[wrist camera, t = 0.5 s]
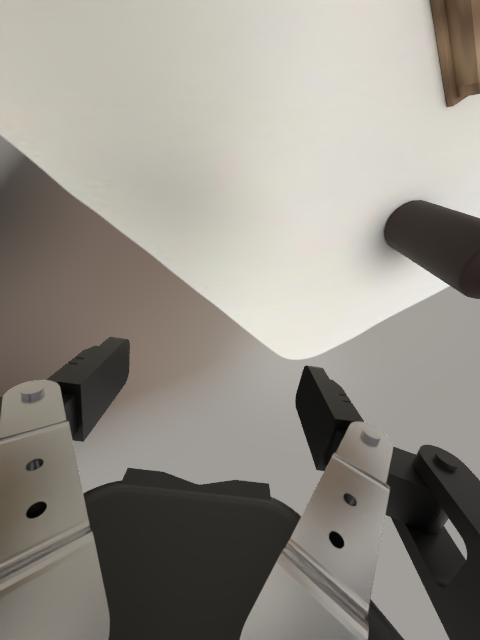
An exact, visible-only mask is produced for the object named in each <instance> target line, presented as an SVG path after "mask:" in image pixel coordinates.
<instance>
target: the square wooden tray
mask: <svg viewBox="0 0 480 640" xmlns="http://www.w3.org/2000/svg"><path fill="white" fill-rule="evenodd" d="M430 2H431V9H432V15H433V21H434V28H435V34H436V40H437V46H438V53H439V59H440V65H441V72H442V78H443V84H444V91H445V97H446V103H447V107H450V106H454V105H456V104H457V103H459V102H460V101H461V100H463V99H464V98H466V97H467V96H469V95H475V94H480V0H430Z"/></svg>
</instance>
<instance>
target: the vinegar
mask: <svg viewBox="0 0 480 640" xmlns="http://www.w3.org/2000/svg"><path fill="white" fill-rule="evenodd" d="M385 239H386V241H387V243H388V245H390V246H391V247H392V248H394V249H395V250H397V251H398V252H400V253H401V254H403V255H404V256H406V257H407V258H409V259H410V260H412V261H413V262H415V263H416V264H418V265H420V266H421V267H423V268H424V269H426V270H427V271H429V272H430V273H432V274H433V275H435V276H436V277H438V278H439V279H441V280H442V281H444V282H445V283H447V284H448V285H450V286H452V287H453V288H455V289H456V290H458V291H459V292H461V293H462V294H464V295H465V296H467V297H471V298H476V299H480V218H477V217H474V216H471V215H467V214H464V213H461V212H458V211H455V210H451V209H448V208H445V207H442V206H439V205H435V204H432V203H429V202H426V201H422V200H419V201H411V202H409V203H406V204H404V205H403V206H401V207H400V208H398V209H397V210H396V211H395V212H394V213H393V214H392V216H391V217H390V219H389V221H388V222H387V224H386V228H385Z"/></svg>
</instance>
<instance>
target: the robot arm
mask: <svg viewBox="0 0 480 640" xmlns="http://www.w3.org/2000/svg"><path fill="white" fill-rule="evenodd" d="M129 351H130V343H129V340H128V339H122V338H115V337H109V338H108V339H107V340H105V341H104V342H103V343H102V344H101V345H100V346H93V347H91V348H89V349H86V350H83V351H82V352H81V353H80V354H78V355H77V356H76V357H75V358H73V359H72V360H71V361H69V363H68V364H66V365H64V366H63V367H62V368H61V369H60V370H58V371H57V372H55V373H54V374H53V375H52V376H50V377H49V378H48V379H47V380H36V381H30V382H26V383H23V384H20V385H17V386H15V387H13V388H12V389H10V390H9V391H7V392H6V393H5V395H4V396H3V397H0V640H404V639H403V638H402V636H401V635H400V634H399V633H398V632H397V630H396V629H395V628H394V627H393V626H392V624H391V623H390V622H389V621H388V620H387V619H386V617H385V616H384V615H383V613H382V612H381V611H380V610H379V609H378V608H377V606H376V605H375V604H374V603H373V601H372V600H371V599H370V598H371V592H372V586H373V581H374V575H375V570H376V564H377V558H378V553H379V548H380V542H381V537H382V531H383V525H384V520H385V515H387V516H390V517H391V518H392V520H393V523H394V525H395V527H396V529H397V531H398V533H399V535H400V537H401V539H402V541H403V543H404V545H405V548H406V550H407V552H408V554H409V556H410V558H411V560H412V562H413V564H414V566H415V568H416V570H417V572H418V574H419V576H420V579H421V581H422V583H423V585H424V587H425V589H426V591H427V593H428V595H429V597H430V600H431V602H432V604H433V606H434V608H435V610H436V612H437V614H438V616H439V618H440V620H441V622H442V624H443V626H444V629H445V631H446V633H447V635H448V637H449V639H450V640H480V481H479V479H478V478H477V477H476V476H475V475H474V474H473V473H472V472H471V471H470V469H469V468H468V467H467V466H466V465H465V464H464V463H463V462H461V461H460V460H459V459H458V458H457V457H455V456H454V455H452V454H451V453H449V452H447V451H445V450H443V449H441V448H438V447H435V446H432V445H423V446H421V447H420V449H419V451H418V453H417V455H415V454H412V453H409V452H406V451H404V450H401V449H398V448H396V447H393V443H392V441H391V440H390V438H389V437H388V436H387V435H386V434H385V433H384V432H383V431H381V430H380V429H379V428H377V427H375V426H373V425H371V424H368V423H365V422H364V421H363V419H362V418H361V416H360V415H359V413H358V412H357V410H356V408H355V407H354V406H353V404H352V403H351V401H350V399H349V398H348V397H347V396H346V393H345V392H344V390H343V389H342V387H341V386H339V385H338V384H337V383H336V382H335V381H333V380H330V379H329V377H328V376H327V375H326V373H325V371H324V369H323V368H319V367H313V366H305V367H304V370H303V372H302V376H301V379H300V383H299V386H298V390H297V393H296V409H297V411H298V415H299V418H300V421H301V424H302V427H303V430H304V433H305V436H306V439H307V442H308V445H309V448H310V451H311V454H312V457H313V460H314V463H315V467H316V469H317V470H321V471H324V473H323V475H322V477H321V479H320V481H319V483H318V485H317V487H316V489H315V491H314V493H313V495H312V497H311V498H310V500H309V503H308V504H307V506H306V509H305V510H304V512H303V514H302V516H300V515H299V514H298V513H296V512H295V511H294V510H293V509H292V508H290V507H289V506H287V505H286V504H284V503H282V502H281V501H279V500H277V499H275V498H272V497H270V489H269V484H266V483H256V482H247V481H239V480H232V481H225V482H217V483H211V484H203V485H198V484H194V483H191V482H189V481H186V480H183V479H181V478H178V477H175V476H173V475H170V474H167V473H165V472H160V471H150V470H142V469H133V468H128V469H127V471H126V474H125V475H124V478H123V480H122V481H116V482H112V483H108V484H105V485H102V486H99V487H96V488H94V489H92V490H89V491H87V492H86V493H84V494H83V490H82V485H81V480H80V475H79V470H78V465H77V460H76V455H75V450H74V445H73V440H75V441H84V440H85V438H86V437H87V436H88V435H89V433H90V432H91V430H92V429H93V428H94V426H95V425H96V424H97V422H98V421H99V419H100V418H101V417H102V415H103V414H104V413H105V411H106V410H107V408H108V407H109V406H110V404H111V403H112V401H113V400H114V399H115V397H116V396H117V394H118V393H119V392H120V390H121V389H122V388H123V386H124V385H125V383H126V381H127V378H128V374H129V353H130V352H129ZM448 518H449V519H450V520H451V522H452V523H453V525H454V526H455V528H456V529H457V531H458V532H459V534H460V535H461V537H462V538H463V540H464V542H465V545H466V549H467V560H465V558H464V557H463V555H462V554H461V552H460V550H459V549H458V547H457V546H456V544H455V543H454V541H453V540H452V538H451V536H450V535H449V534H448V532H447V530H446V529H445V527H444V524H445V523H446V521H447V520H448Z"/></svg>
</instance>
